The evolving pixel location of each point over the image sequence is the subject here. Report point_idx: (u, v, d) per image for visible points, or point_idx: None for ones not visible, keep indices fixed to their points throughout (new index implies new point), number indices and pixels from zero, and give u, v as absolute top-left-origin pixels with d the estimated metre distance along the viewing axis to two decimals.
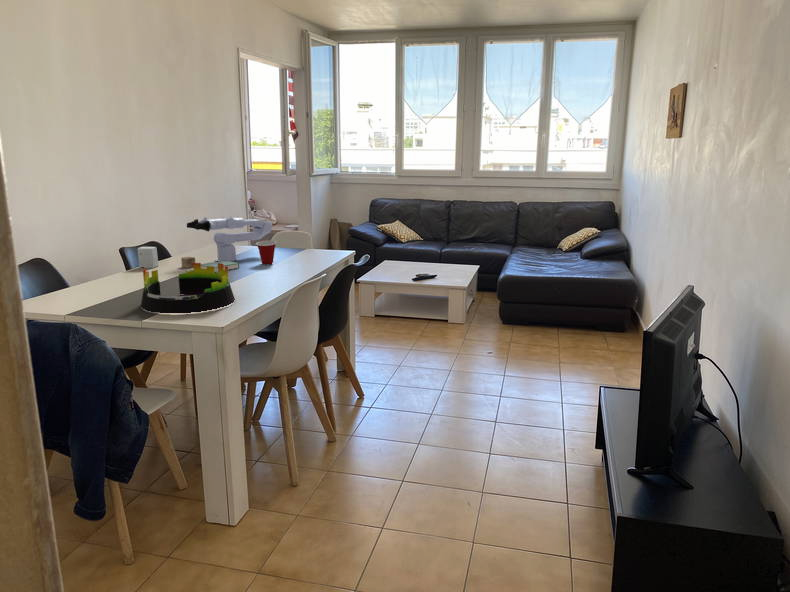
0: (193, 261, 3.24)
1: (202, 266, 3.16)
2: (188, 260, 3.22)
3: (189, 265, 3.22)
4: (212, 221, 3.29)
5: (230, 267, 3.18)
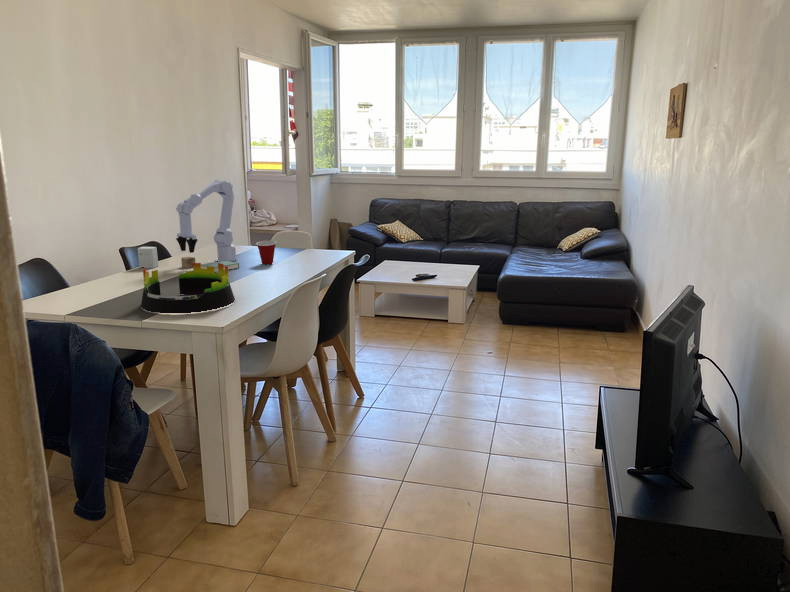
0: (193, 261, 3.24)
1: (202, 266, 3.16)
2: (188, 260, 3.22)
3: (189, 265, 3.22)
4: (185, 230, 3.18)
5: (230, 267, 3.18)
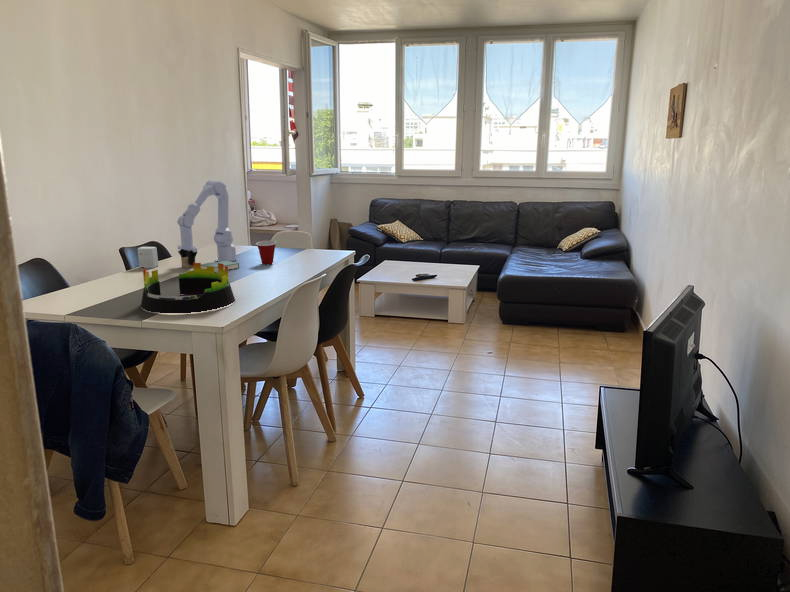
0: None
1: (202, 266, 3.16)
2: (188, 260, 3.22)
3: (189, 265, 3.22)
4: (186, 243, 3.19)
5: (230, 267, 3.18)
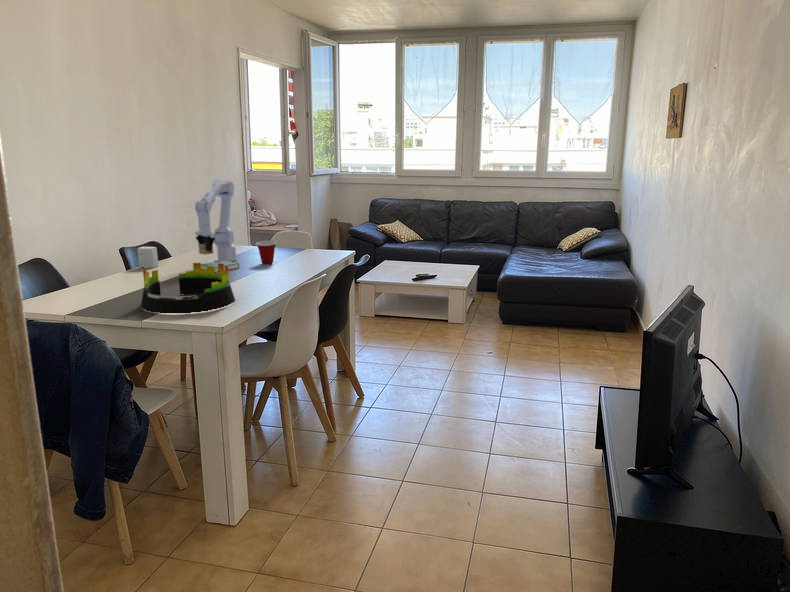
0: None
1: (202, 266, 3.16)
2: (205, 246, 3.16)
3: (206, 251, 3.17)
4: (203, 228, 3.14)
5: (230, 267, 3.18)
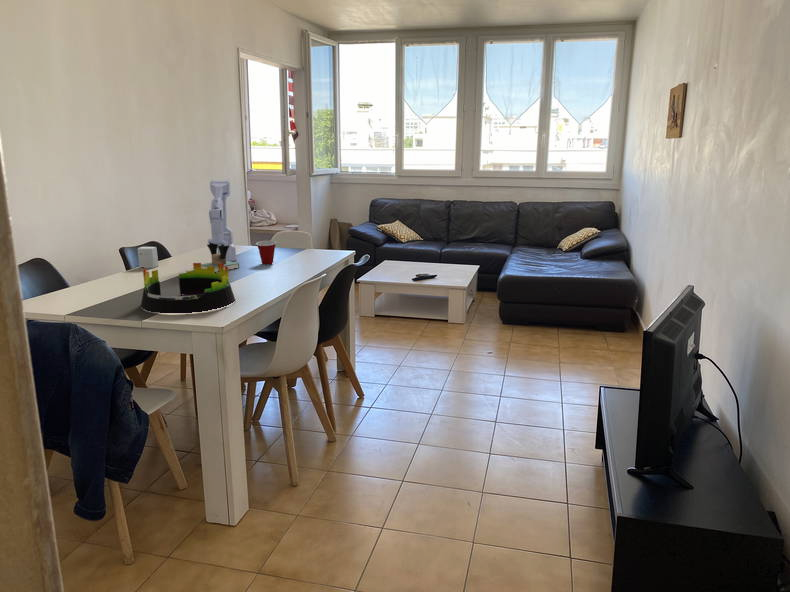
0: None
1: (202, 266, 3.16)
2: (219, 257, 3.16)
3: (220, 262, 3.17)
4: (216, 236, 3.13)
5: (230, 267, 3.18)
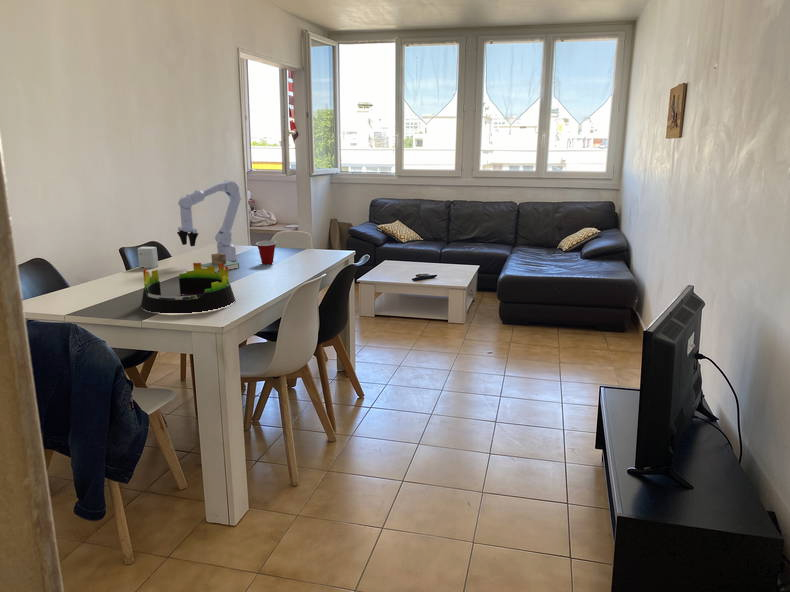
0: (223, 258, 3.18)
1: (202, 266, 3.16)
2: (219, 257, 3.16)
3: (219, 262, 3.17)
4: (186, 224, 3.23)
5: (230, 267, 3.18)
